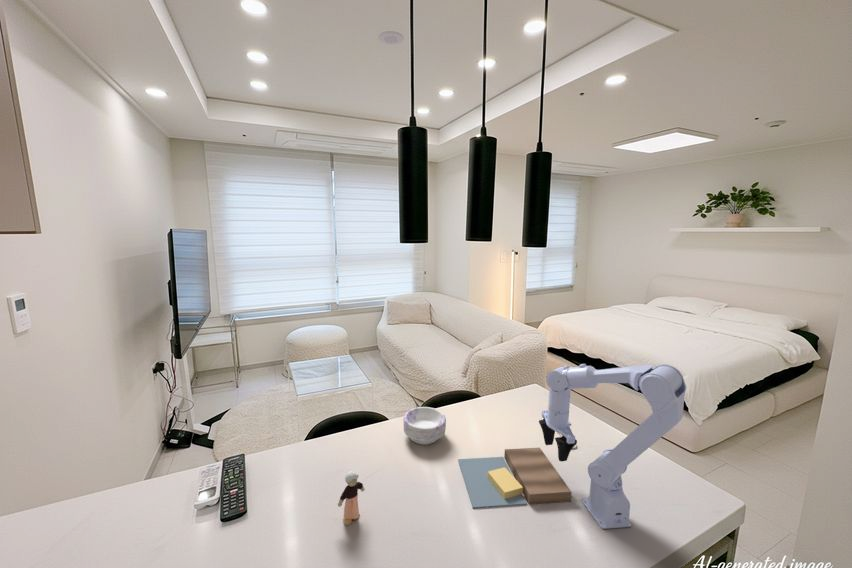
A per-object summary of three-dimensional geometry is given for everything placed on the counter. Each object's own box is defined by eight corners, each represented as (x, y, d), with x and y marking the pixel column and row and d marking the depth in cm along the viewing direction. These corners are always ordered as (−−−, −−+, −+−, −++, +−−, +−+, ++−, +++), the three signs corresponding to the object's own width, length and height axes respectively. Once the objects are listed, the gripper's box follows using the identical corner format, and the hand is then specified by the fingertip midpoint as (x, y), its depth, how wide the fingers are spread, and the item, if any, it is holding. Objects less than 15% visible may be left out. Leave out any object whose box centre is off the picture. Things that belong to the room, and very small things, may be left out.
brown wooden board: (570, 501, 94) (571, 491, 94) (528, 504, 93) (529, 494, 92) (539, 455, 114) (539, 447, 113) (504, 457, 112) (504, 449, 112)
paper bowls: (448, 449, 117) (448, 427, 116) (403, 450, 116) (403, 428, 114) (442, 425, 132) (443, 405, 131) (403, 426, 131) (403, 406, 130)
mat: (526, 504, 93) (527, 503, 93) (472, 508, 91) (472, 507, 91) (502, 457, 112) (502, 456, 112) (457, 460, 111) (458, 459, 111)
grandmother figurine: (347, 531, 83) (346, 483, 82) (336, 524, 85) (335, 477, 84) (368, 510, 90) (368, 466, 88) (357, 504, 92) (357, 460, 90)
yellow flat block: (522, 493, 96) (522, 487, 96) (504, 499, 94) (504, 492, 94) (504, 473, 104) (504, 467, 104) (487, 477, 102) (487, 471, 102)
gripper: (586, 420, 92) (583, 466, 94) (557, 396, 107) (554, 436, 108) (562, 422, 91) (559, 469, 93) (536, 397, 105) (534, 438, 107)
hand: (555, 452), depth 101 cm, fingers open, 7 cm apart
